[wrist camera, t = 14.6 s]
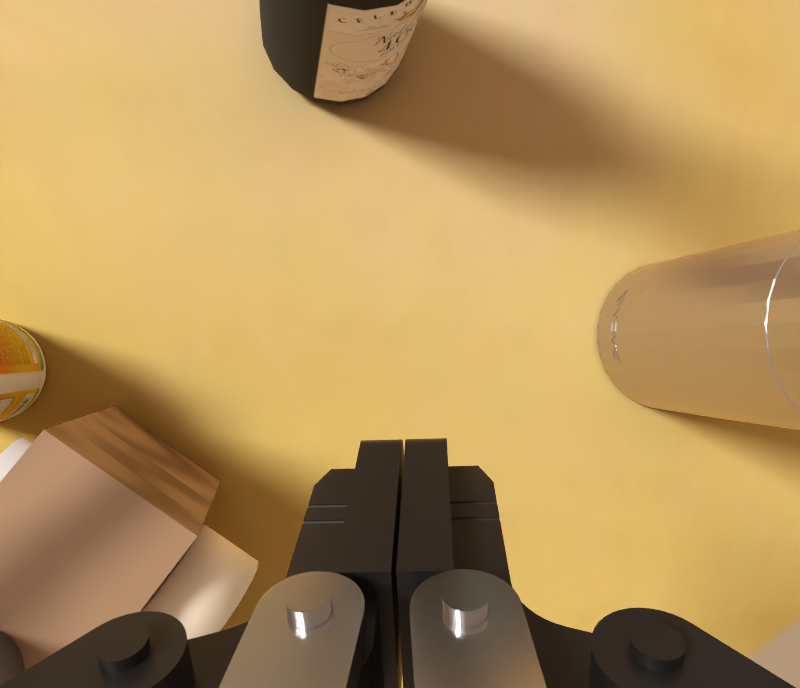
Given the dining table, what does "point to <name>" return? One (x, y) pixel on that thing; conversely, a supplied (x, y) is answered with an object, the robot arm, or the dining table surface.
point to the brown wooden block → (92, 527)
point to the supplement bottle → (19, 370)
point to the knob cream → (189, 574)
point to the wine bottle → (337, 44)
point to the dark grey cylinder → (9, 659)
